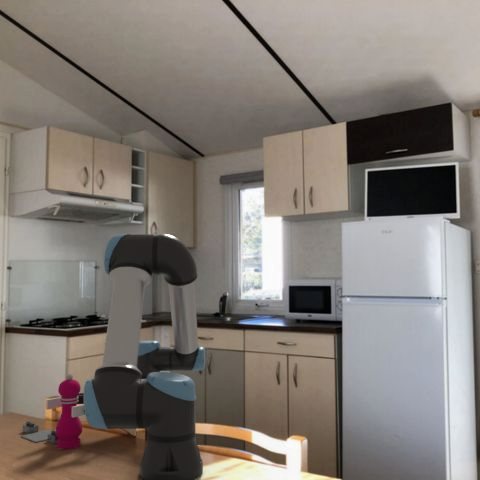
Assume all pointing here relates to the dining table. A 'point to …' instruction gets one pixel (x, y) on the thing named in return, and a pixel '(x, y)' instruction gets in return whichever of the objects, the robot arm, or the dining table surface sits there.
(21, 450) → the dining table surface
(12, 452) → the dining table surface
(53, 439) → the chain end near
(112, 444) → the dining table surface
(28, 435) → the plate
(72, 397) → the pepper mill
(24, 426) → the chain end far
